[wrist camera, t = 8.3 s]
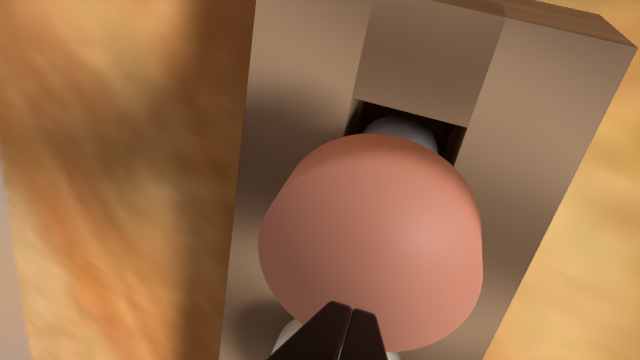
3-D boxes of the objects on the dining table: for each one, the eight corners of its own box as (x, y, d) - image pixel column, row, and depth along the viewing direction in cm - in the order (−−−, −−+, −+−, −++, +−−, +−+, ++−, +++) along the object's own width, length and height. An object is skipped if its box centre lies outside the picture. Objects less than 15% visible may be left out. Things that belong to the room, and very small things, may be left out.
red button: (450, 236, 16) (442, 377, 11) (311, 195, 17) (247, 313, 12) (502, 101, 14) (519, 208, 9) (337, 59, 14) (271, 139, 10)
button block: (393, 477, 28) (382, 558, 24) (235, 421, 29) (204, 491, 26) (599, 15, 15) (638, 47, 12) (304, -52, 16) (260, -39, 13)
